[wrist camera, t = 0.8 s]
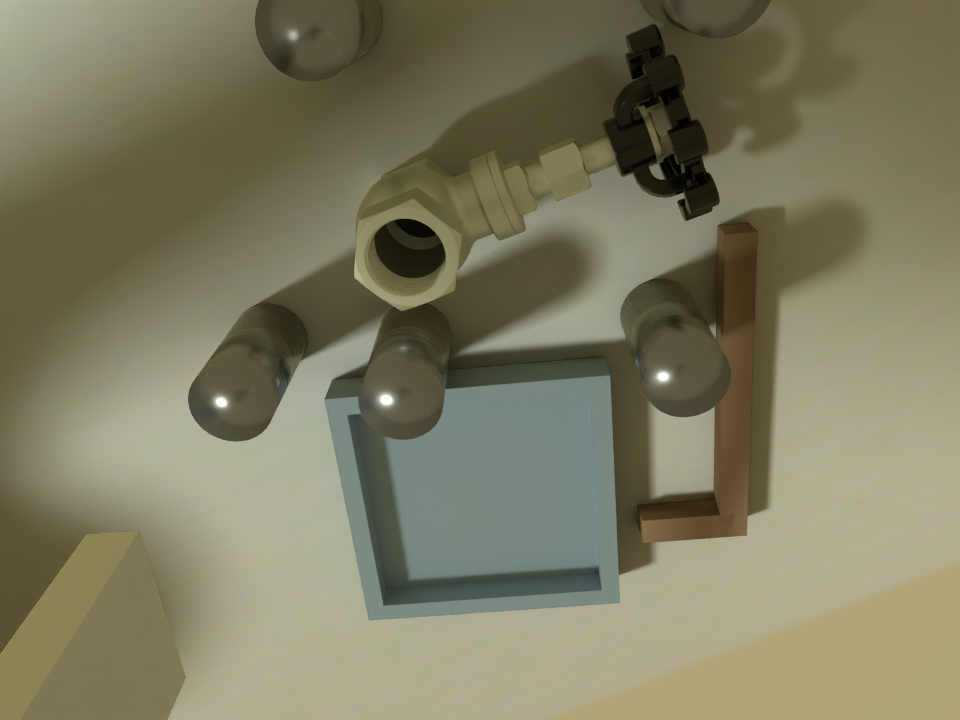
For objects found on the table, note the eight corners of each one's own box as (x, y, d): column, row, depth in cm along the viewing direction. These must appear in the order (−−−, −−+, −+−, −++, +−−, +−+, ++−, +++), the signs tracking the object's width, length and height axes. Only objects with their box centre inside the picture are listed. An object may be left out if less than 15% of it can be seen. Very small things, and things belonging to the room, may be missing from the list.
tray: (374, 594, 41) (368, 620, 40) (332, 379, 36) (324, 399, 35) (614, 577, 41) (620, 603, 39) (605, 356, 36) (610, 375, 34)
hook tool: (638, 527, 39) (643, 543, 38) (630, 233, 34) (635, 243, 32) (739, 519, 39) (746, 535, 38) (748, 222, 33) (757, 231, 32)
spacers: (246, 383, 37) (202, 456, 31) (151, -10, 30) (75, -5, 25) (718, 342, 35) (759, 410, 30) (725, -75, 29) (778, -84, 23)
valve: (408, 297, 35) (692, 187, 33) (390, 366, 29) (736, 237, 27) (337, 146, 32) (639, 17, 30) (301, 187, 26) (675, 30, 24)
